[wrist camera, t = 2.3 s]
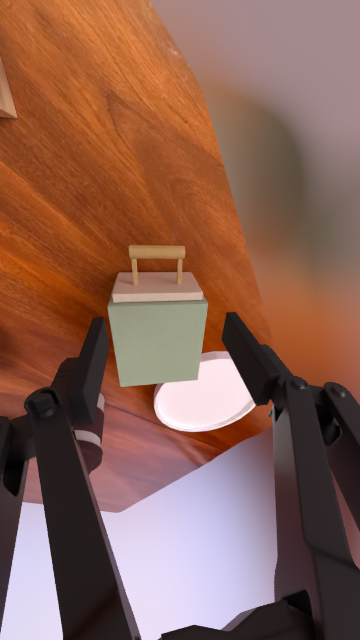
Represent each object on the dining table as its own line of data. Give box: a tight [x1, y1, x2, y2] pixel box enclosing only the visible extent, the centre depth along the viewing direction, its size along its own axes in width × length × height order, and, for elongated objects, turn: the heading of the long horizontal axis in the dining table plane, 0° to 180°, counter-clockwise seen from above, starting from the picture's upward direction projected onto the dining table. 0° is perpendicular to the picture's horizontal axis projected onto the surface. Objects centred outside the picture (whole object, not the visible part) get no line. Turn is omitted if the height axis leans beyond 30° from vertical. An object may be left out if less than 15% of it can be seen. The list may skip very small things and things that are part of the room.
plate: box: [154, 351, 255, 432], centre depth 52 cm, size 28×28×2 cm
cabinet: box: [107, 278, 208, 387], centre depth 34 cm, size 15×13×10 cm
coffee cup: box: [74, 393, 105, 475], centre depth 41 cm, size 10×10×15 cm
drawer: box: [112, 245, 203, 303], centre depth 32 cm, size 19×12×8 cm, turn 177°
